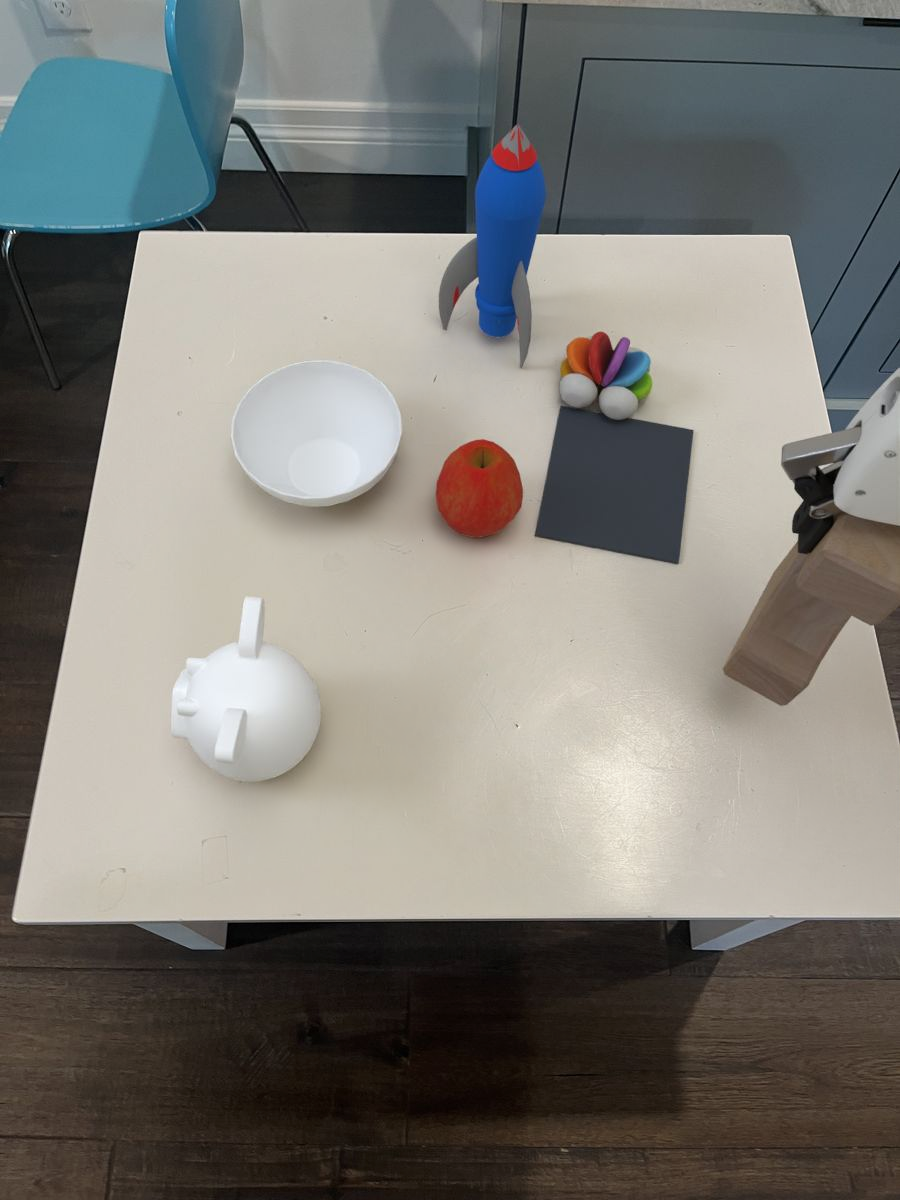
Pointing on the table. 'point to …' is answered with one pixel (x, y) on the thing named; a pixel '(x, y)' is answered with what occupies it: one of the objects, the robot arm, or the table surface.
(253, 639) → the piggy bank
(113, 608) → the table surface
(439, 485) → the apple
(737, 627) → the table surface
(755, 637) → the decorative block
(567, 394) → the rainbow petal flower
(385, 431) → the bowl
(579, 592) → the table surface
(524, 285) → the toy rocket
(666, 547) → the mat
